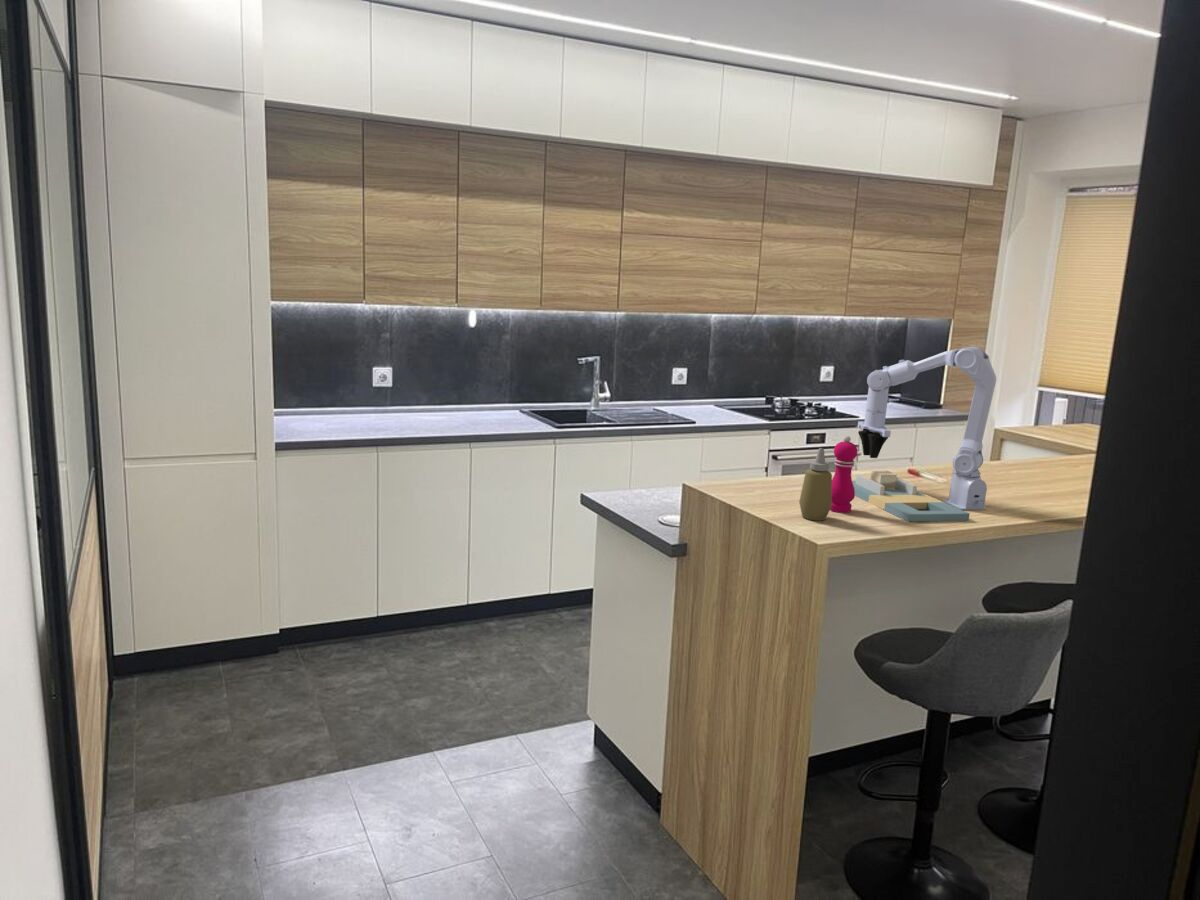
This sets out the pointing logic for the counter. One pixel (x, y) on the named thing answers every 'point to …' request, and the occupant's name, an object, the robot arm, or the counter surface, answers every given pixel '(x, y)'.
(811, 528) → the counter surface
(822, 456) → the squeeze bottle
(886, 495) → the board
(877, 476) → the block
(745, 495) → the counter surface
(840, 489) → the pepper mill
